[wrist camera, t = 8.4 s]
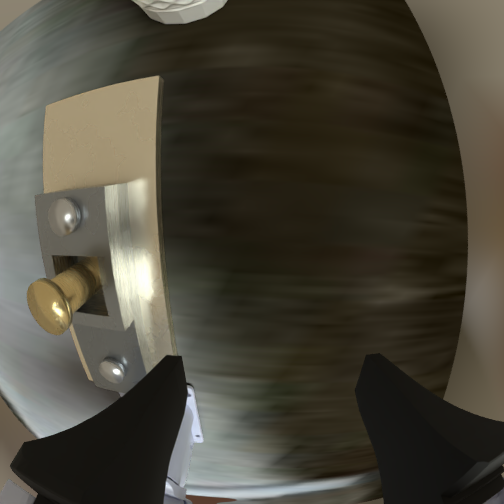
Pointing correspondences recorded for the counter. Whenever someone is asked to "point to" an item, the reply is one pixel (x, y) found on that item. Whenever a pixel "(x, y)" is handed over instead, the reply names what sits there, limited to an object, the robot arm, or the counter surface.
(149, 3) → the white cup
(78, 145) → the door lock with knob
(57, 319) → the brass knob
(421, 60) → the counter surface
